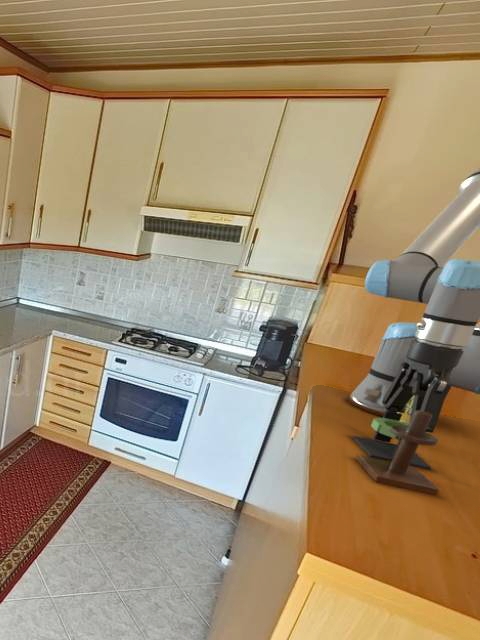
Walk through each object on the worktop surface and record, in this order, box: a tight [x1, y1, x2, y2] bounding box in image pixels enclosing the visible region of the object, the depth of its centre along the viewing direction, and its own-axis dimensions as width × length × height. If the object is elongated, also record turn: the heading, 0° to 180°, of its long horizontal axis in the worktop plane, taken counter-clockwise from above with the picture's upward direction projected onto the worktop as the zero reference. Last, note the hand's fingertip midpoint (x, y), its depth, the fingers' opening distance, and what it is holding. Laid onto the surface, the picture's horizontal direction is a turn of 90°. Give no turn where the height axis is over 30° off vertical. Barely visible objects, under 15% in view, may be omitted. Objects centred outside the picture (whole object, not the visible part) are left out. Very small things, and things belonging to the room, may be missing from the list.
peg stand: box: [356, 410, 440, 496], centre depth 88 cm, size 9×9×13 cm
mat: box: [352, 435, 432, 471], centre depth 101 cm, size 10×10×1 cm
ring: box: [370, 417, 428, 441], centre depth 99 cm, size 8×8×2 cm
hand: (390, 449), depth 100 cm, fingers closed on ring, 8 cm apart
